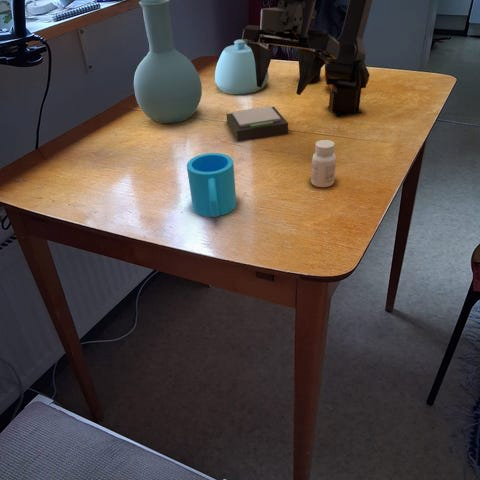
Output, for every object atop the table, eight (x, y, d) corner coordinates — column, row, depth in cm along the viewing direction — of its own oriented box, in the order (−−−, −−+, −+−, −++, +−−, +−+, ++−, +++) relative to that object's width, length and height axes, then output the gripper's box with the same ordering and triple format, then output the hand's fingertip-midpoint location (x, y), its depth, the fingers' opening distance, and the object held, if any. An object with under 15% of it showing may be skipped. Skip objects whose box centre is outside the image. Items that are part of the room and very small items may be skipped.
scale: (274, 116, 118) (274, 103, 116) (288, 133, 111) (288, 120, 109) (226, 123, 117) (225, 111, 115) (237, 141, 109) (236, 128, 107)
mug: (192, 195, 92) (186, 155, 87) (234, 192, 92) (231, 151, 87) (192, 230, 83) (186, 187, 78) (239, 225, 84) (236, 182, 78)
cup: (322, 85, 133) (324, 36, 124) (294, 84, 134) (295, 36, 126) (324, 76, 138) (327, 28, 130) (297, 75, 139) (298, 28, 131)
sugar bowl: (236, 75, 143) (233, 31, 135) (278, 82, 136) (278, 36, 128) (205, 91, 135) (200, 44, 127) (248, 99, 128) (246, 51, 120)
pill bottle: (336, 178, 94) (339, 139, 89) (331, 189, 91) (334, 149, 86) (313, 176, 95) (315, 137, 90) (308, 186, 92) (310, 147, 87)
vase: (148, 134, 115) (125, 12, 98) (133, 111, 126) (110, -1, 109) (213, 120, 119) (201, 1, 102) (193, 99, 130) (179, -11, 113)
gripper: (235, -22, 86) (216, 73, 91) (326, -16, 77) (299, 88, 82) (267, 2, 95) (248, 87, 100) (352, 9, 86) (326, 102, 91)
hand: (278, 90), depth 93 cm, fingers open, 9 cm apart
